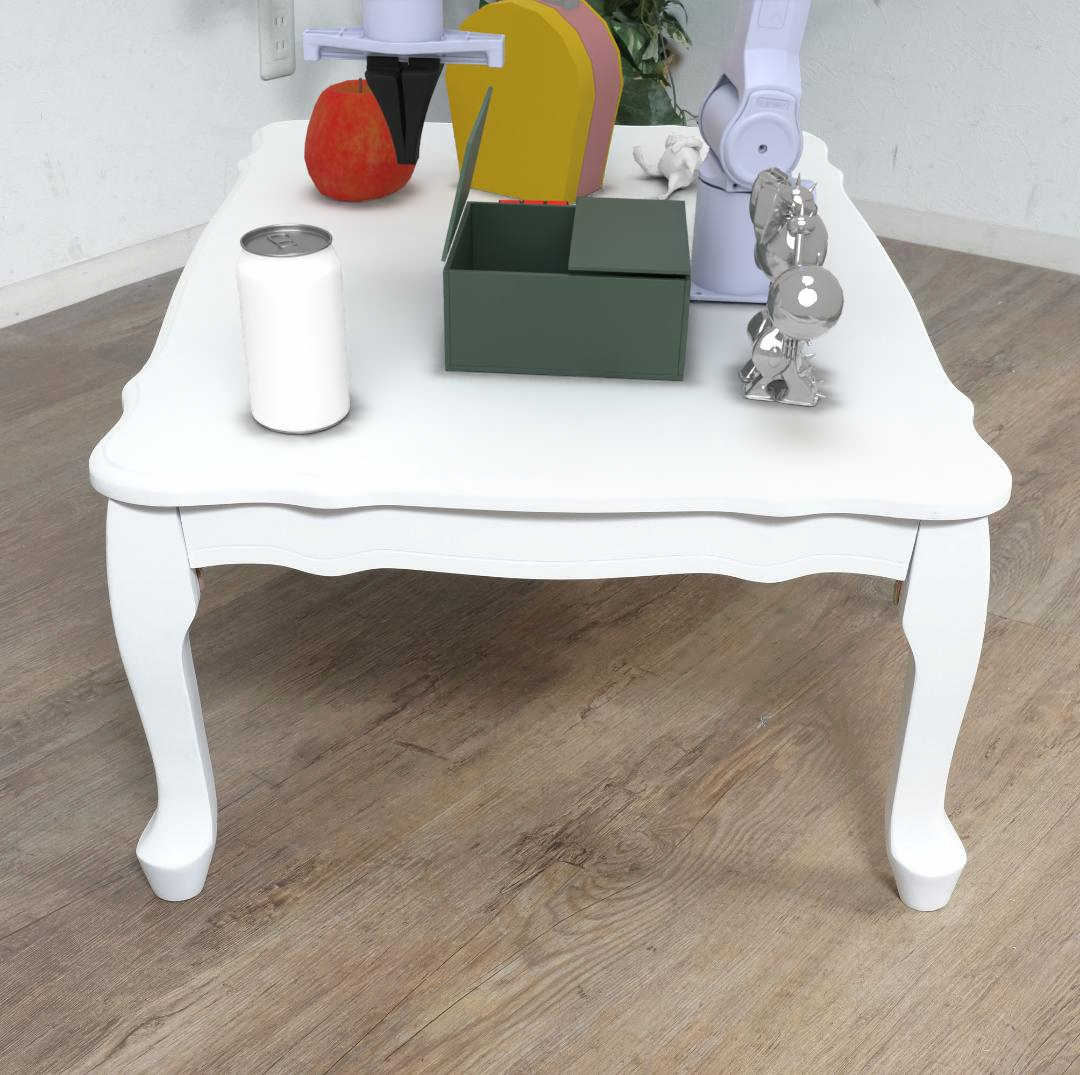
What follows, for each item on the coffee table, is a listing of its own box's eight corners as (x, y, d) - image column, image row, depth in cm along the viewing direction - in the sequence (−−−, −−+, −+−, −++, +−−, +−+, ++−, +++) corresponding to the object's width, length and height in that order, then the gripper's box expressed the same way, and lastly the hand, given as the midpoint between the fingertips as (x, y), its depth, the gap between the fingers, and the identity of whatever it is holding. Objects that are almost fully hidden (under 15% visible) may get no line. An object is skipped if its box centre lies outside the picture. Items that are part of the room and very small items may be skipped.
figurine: (623, 180, 125) (627, 142, 135) (676, 218, 127) (676, 178, 137) (661, 128, 122) (663, 94, 132) (715, 169, 124) (713, 131, 134)
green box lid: (471, 144, 85) (466, 142, 85) (445, 262, 89) (440, 261, 89) (493, 87, 97) (489, 86, 97) (469, 193, 101) (465, 192, 101)
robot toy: (840, 448, 85) (876, 221, 77) (743, 444, 85) (769, 217, 77) (811, 351, 97) (839, 148, 89) (727, 348, 97) (747, 145, 89)
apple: (417, 211, 122) (413, 93, 116) (299, 210, 122) (290, 92, 116) (424, 176, 131) (421, 65, 125) (314, 174, 131) (306, 63, 125)
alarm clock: (620, 189, 129) (631, -12, 119) (577, 211, 123) (584, 2, 113) (494, 162, 135) (493, -31, 125) (447, 182, 129) (443, -18, 119)
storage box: (683, 380, 93) (692, 271, 88) (445, 370, 93) (442, 261, 89) (678, 300, 105) (685, 200, 101) (468, 291, 106) (466, 191, 101)
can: (269, 444, 84) (250, 264, 77) (239, 403, 88) (219, 229, 82) (365, 424, 86) (354, 247, 80) (331, 385, 91) (318, 215, 85)
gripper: (509, -38, 96) (508, 149, 103) (312, -45, 97) (324, 142, 104) (499, -21, 90) (499, 176, 97) (289, -28, 91) (305, 168, 98)
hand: (408, 160), depth 100 cm, fingers closed
